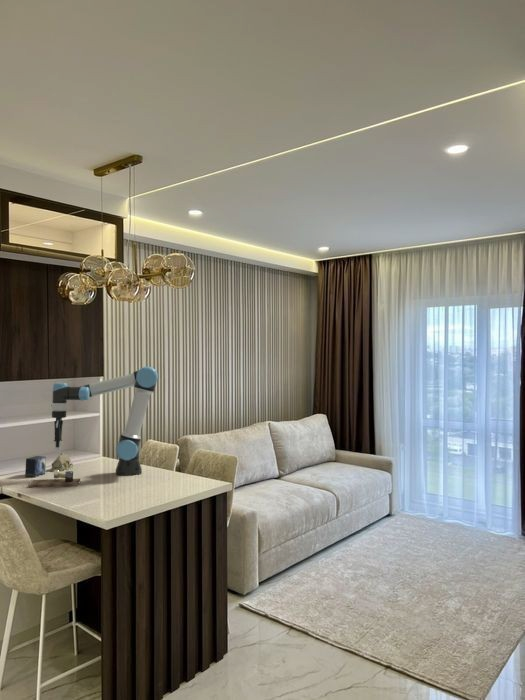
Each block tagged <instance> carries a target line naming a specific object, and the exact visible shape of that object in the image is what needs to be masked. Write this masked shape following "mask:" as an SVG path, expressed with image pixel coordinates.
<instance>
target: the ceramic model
mask: <svg viewBox="0 0 525 700" xmlns="http://www.w3.org/2000/svg"><path fill="white" fill-rule="evenodd" d="M71 468H72V469H73V468H74V464H73V463H71V459H70V456H69V455H67V453H63V452H62V453H61V452H60V454H59V455H58V457H56V458H55V459H54V461H53V462H52V463H51V468H50V469H49V471H50V472H54V470H59V472H65V471H64V470H68V471H70V470H72V469H71ZM69 469H70V470H69Z"/></svg>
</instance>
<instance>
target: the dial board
mask: <svg viewBox="0 0 525 700" xmlns="http://www.w3.org/2000/svg"><path fill="white" fill-rule="evenodd" d="M79 482H81V478H73V481H65V478H53V479H52V478H51V479H50V478H48V479H47V478H46V479H32V481H31V482H30V483H29V484H28V487H39V488H66V487H69V486H70V487H71V486H74V487H78V486H79V484H80V483H79ZM28 487H27V488H28ZM71 488H72V487H71Z"/></svg>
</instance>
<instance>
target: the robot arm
mask: <svg viewBox="0 0 525 700" xmlns="http://www.w3.org/2000/svg"><path fill="white" fill-rule="evenodd" d="M158 379H159V373H158V371H157V370H156V369H155V368H154V367H152V366H142V367H141V368H139V369H138V370H136V371H135V370H134V371H132V373H131V374H127V375H122V376H117V377H114V378H110V379H105V380H102V381H101V380H100V381H97V382H93V383H89V384H85V385H84V384H83V385H79V386H68V383H66V382H55V383H54V384H53V385H52V386H53V387H52V404H51V407H52V409H51V410H52V411H51V417H52V418H53V419H55V421H54V439H53V442H54V454H61V447H62V446H61V445H62V443H61V442H62V441H63V438H62V435H63V423H64V420H63V419H65V418H66V417H67V411H66V410H67V408H68V407H67V406H68V405H67V403H68V401H88V400H89V399H90V398H92V397H96V396H100V395H104V394H107V393H112V392H116V391H120V390H124V389H129V388H132V387H133V388H134V390H135V392H134V395H133V398H132V403H131V406H130V410H129V413H128V417H127V420H126V425H125V428H124V431H122V432H121V433H120V435H119V439H118V444H117V445H116V447H115V452H116V455H117V456H118V462H117V465H116V468H115V473H116V475H117V476H136V475H135V474H138V475H140V473H141V474H142V473H143V472H142V470H143V468H142V466H141V462H140V443H141V440H142V437H141V435H140V434H141V430H142V427H143V426H142V425H143V422H144V420H145V416H146V412H147V409H148V405H149V400H150V398H151V394H153V393H155V391H156V386H157V381H158Z"/></svg>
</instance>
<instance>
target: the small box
mask: <svg viewBox="0 0 525 700" xmlns="http://www.w3.org/2000/svg"><path fill="white" fill-rule="evenodd" d="M46 458H47V457H46V456H43V455H42V456H41V455H35V456H31V457H26V458H25V472H24V474H25V475H24V477H25V478H36V476H37V477H40V476H39V475H41V476H43V474H44V475H46V466H47V465H46V464H47V463H46V461H47V459H46Z"/></svg>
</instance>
